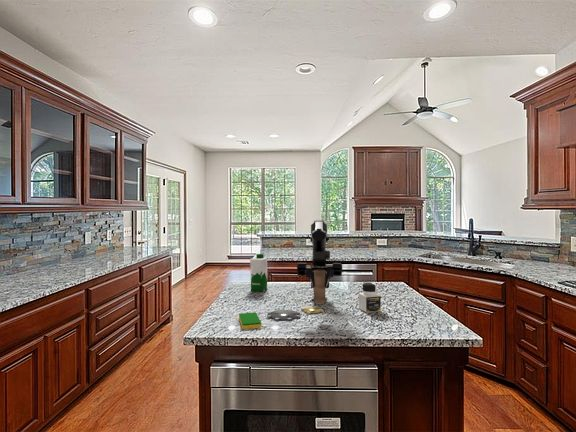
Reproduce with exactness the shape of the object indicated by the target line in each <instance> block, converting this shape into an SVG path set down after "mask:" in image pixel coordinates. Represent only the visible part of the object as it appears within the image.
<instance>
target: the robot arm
mask: <svg viewBox="0 0 576 432" xmlns="http://www.w3.org/2000/svg"><path fill="white" fill-rule="evenodd" d="M309 237H310V238H309V239H310V243H311V245H312V262H311V263H312V265H310V264H307V262H298V263H297V264H296V272H297V276H305V277H306V278H308V280H309V281H310V289H314V270H316V269H323V270H325V289H329V288H330V280H331V278H334V276H335V277H340V276H342V275H343V264H342V263H341V262H332V266H328V265H327V260H330V259H331V250H327V247H326V246H327V245H326V244H327V243H328V241H330V237H329V236H328V225H327V224H326V223H325V221H324V220H323V219H321V220H320V219H319V220H317V219H316V220H313V222H312V224H310V236H309ZM326 300H328V297H327V296H325V301H326ZM311 301H313V302H314V297H313V298H312V299H311Z"/></svg>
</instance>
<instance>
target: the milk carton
mask: <svg viewBox="0 0 576 432" xmlns="http://www.w3.org/2000/svg"><path fill="white" fill-rule="evenodd" d="M249 263H250V291H251V292H256V291H261V292H260V293H264V292H265V291H266V290H268V257H265V256H264V253H256V256H255V257H252V258H250V259H249ZM264 290H265V291H264Z"/></svg>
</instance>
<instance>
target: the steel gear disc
mask: <svg viewBox="0 0 576 432" xmlns="http://www.w3.org/2000/svg"><path fill="white" fill-rule="evenodd" d="M300 314H301V312H300V311H296V310H293V309H290V308H287V309H279V308H278V309H276V310H273V311H268V312H267V315H266V318H267V319H272V320H274V321H275V322H279V321H288V322H292V320H294V319H300V318H301V315H300Z"/></svg>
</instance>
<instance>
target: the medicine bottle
mask: <svg viewBox="0 0 576 432" xmlns="http://www.w3.org/2000/svg"><path fill="white" fill-rule="evenodd" d="M377 287H378V286H377V283H375V282H369V281H367V282H364V283H362V292H358V309H359V310H361V311H362V312H365V313H366V314H367V313H368V314H369V313H377V312H381V311H382V310H381V309H382V306H381V305H382V303H381V299H382V296H381V294H378V293H377V292H378V291H377V289H378V288H377Z"/></svg>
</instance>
